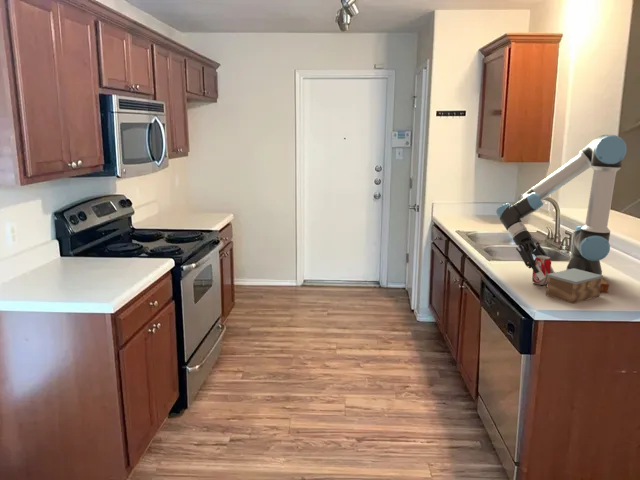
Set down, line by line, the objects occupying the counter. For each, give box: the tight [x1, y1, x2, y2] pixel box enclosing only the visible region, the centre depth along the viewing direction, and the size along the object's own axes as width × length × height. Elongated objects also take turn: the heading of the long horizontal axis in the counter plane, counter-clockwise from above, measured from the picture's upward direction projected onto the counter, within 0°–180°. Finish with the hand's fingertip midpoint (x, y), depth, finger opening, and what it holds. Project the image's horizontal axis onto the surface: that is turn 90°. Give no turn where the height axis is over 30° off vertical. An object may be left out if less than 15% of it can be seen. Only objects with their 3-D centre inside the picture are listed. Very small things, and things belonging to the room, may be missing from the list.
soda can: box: [532, 255, 552, 286], centre depth 228 cm, size 7×7×12 cm
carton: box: [600, 278, 610, 294], centre depth 227 cm, size 8×16×4 cm, turn 165°
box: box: [545, 277, 601, 304], centre depth 213 cm, size 18×13×8 cm
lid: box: [547, 268, 604, 284], centre depth 212 cm, size 19×13×1 cm
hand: (548, 277), depth 226 cm, fingers closed on soda can, 7 cm apart
